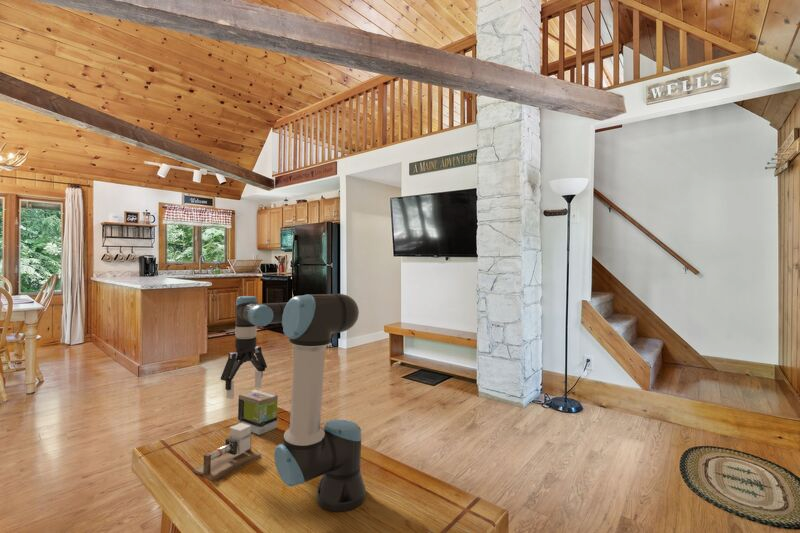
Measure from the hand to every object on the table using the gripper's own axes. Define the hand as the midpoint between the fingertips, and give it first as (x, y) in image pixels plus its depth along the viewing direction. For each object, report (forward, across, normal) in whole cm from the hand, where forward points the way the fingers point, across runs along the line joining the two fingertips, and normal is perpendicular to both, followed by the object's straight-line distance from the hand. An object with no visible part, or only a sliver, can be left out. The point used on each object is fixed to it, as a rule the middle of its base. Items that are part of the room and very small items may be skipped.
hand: (244, 392), depth 145 cm
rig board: (+24, +7, 0) cm, 25 cm away
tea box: (+24, -21, -14) cm, 35 cm away
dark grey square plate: (+20, +6, 0) cm, 21 cm away
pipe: (+19, +7, 0) cm, 20 cm away
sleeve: (+21, +2, +1) cm, 21 cm away
